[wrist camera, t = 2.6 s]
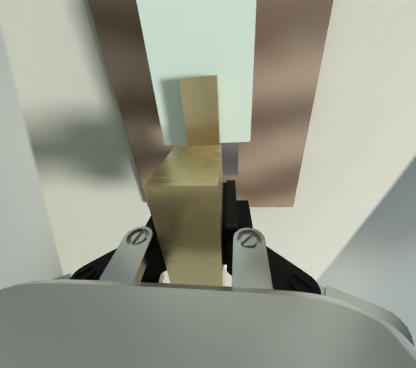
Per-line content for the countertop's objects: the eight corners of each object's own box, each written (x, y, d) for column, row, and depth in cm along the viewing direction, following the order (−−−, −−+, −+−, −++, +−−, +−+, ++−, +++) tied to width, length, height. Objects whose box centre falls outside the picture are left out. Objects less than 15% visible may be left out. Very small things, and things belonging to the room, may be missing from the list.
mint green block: (147, -38, 11) (121, -74, 8) (252, -55, 10) (260, -101, 7) (174, 134, 16) (164, 145, 13) (246, 130, 15) (250, 141, 12)
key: (195, 78, 16) (112, 79, 4) (223, 75, 15) (211, 70, 4) (205, 189, 21) (179, 314, 10) (226, 188, 21) (224, 317, 10)
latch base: (85, -35, 14) (38, -73, 10) (342, -79, 12) (389, -144, 8) (150, 202, 25) (138, 222, 21) (290, 202, 23) (301, 224, 19)
